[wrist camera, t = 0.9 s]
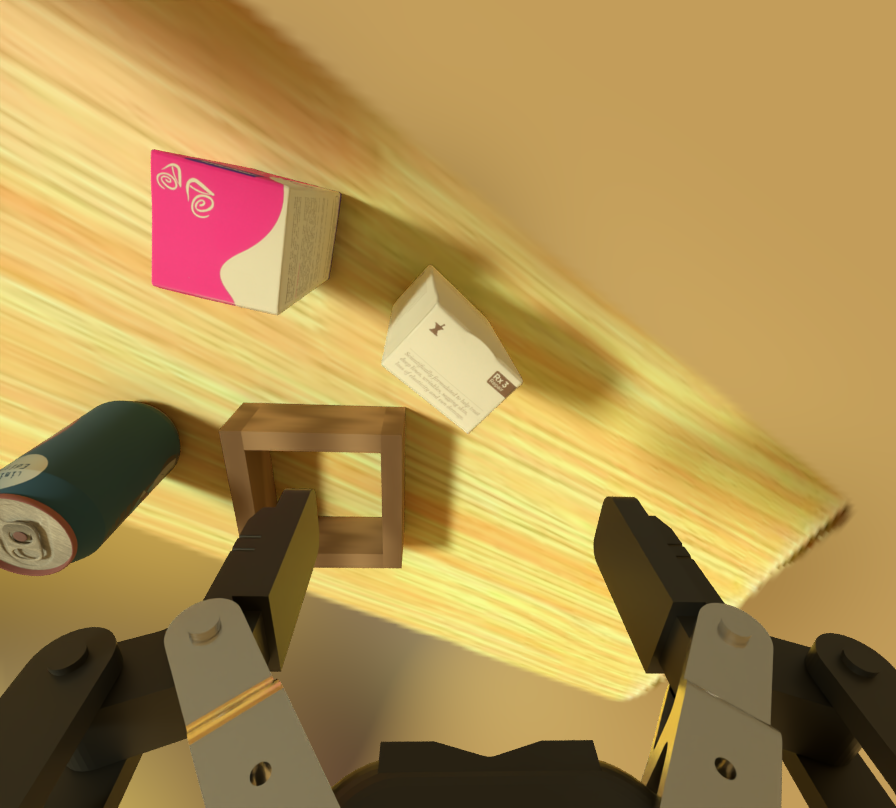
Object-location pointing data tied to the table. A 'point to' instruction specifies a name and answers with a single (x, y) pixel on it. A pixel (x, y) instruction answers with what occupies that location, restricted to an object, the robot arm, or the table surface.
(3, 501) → the soda can
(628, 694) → the table surface
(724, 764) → the robot arm
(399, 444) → the brown wooden square frame
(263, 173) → the supplement box
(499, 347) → the skincare box
